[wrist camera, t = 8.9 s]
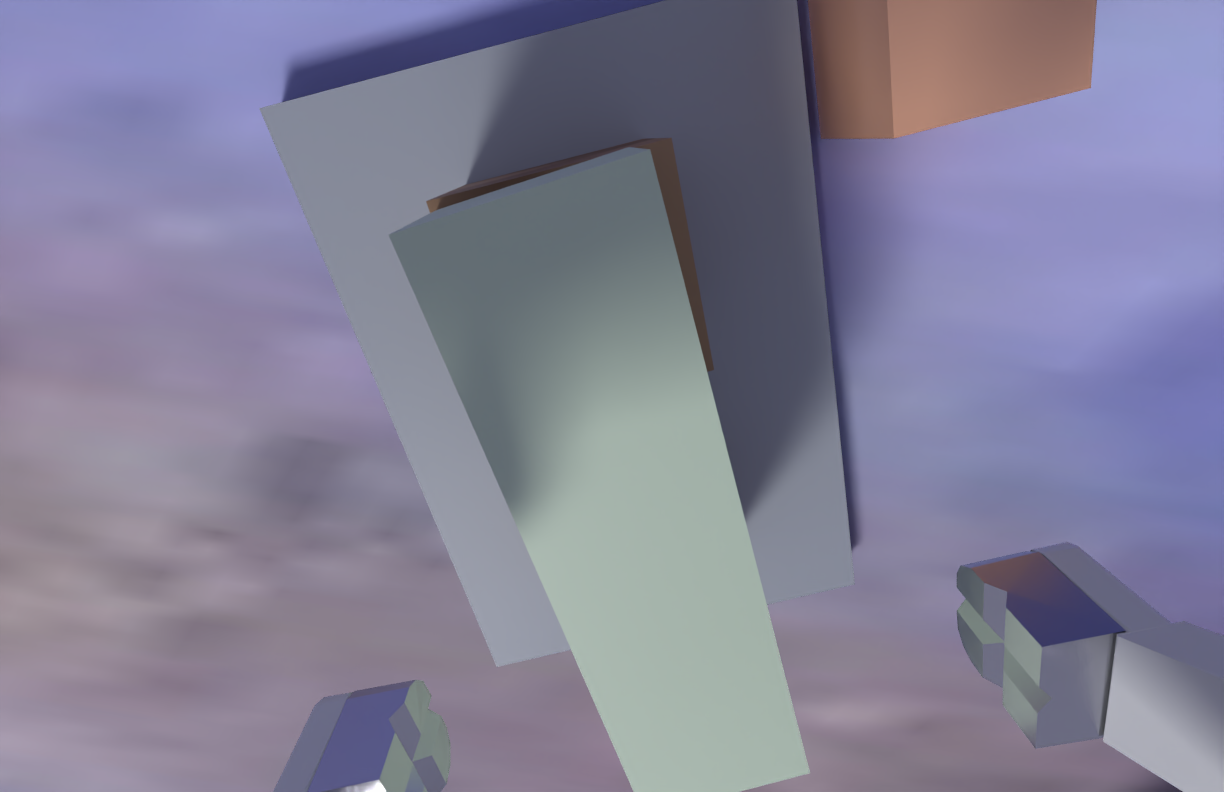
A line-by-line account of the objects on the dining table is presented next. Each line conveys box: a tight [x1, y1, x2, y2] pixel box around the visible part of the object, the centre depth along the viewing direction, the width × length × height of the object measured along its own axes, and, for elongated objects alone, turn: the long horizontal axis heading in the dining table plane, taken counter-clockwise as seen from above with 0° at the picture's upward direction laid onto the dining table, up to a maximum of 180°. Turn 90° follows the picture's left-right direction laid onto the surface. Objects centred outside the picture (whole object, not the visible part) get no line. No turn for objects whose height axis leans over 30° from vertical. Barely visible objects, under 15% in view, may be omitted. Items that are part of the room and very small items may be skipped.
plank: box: [389, 147, 810, 792], centre depth 13 cm, size 4×14×4 cm, turn 17°
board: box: [259, 0, 855, 667], centre depth 20 cm, size 14×20×1 cm
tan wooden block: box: [426, 138, 714, 372], centre depth 15 cm, size 5×5×5 cm
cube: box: [808, 0, 1097, 139], centre depth 15 cm, size 4×4×4 cm
